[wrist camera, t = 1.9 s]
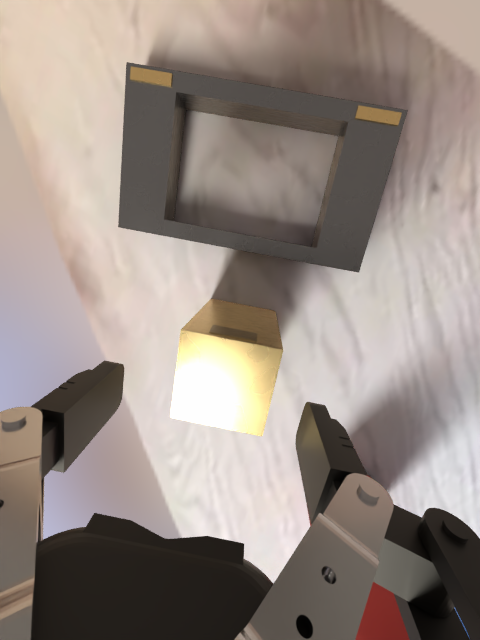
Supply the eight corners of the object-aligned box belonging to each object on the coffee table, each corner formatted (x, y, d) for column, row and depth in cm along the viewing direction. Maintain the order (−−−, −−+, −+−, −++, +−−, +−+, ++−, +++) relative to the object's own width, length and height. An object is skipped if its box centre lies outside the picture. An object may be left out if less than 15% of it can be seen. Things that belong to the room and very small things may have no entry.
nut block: (275, 310, 20) (283, 349, 13) (262, 369, 22) (262, 437, 14) (211, 297, 21) (180, 328, 13) (202, 357, 22) (169, 418, 14)
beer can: (302, 517, 26) (336, 741, 14) (306, 461, 24) (349, 663, 12) (374, 522, 25) (470, 759, 13) (383, 465, 23) (503, 680, 12)
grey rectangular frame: (390, 126, 17) (408, 109, 15) (349, 269, 19) (359, 272, 17) (141, 82, 17) (125, 61, 15) (132, 229, 20) (117, 226, 18)
